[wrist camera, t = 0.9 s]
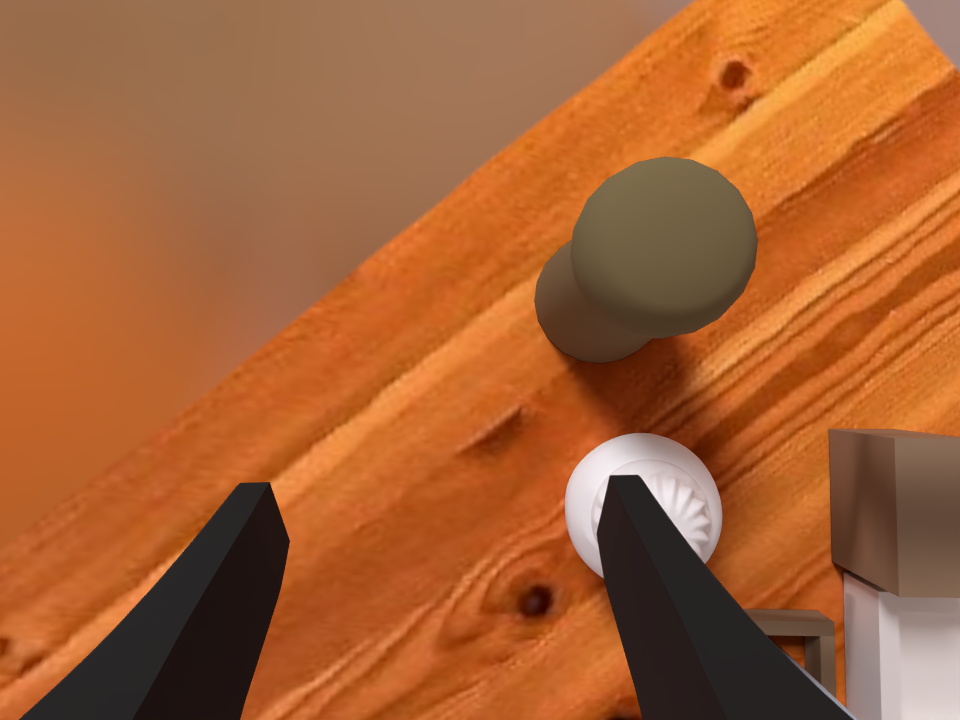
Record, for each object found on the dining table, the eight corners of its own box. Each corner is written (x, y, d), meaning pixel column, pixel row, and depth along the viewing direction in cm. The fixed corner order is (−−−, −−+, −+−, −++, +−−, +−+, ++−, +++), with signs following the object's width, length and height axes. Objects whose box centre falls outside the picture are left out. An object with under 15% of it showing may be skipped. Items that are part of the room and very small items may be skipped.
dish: (1007, 734, 23) (1060, 771, 21) (846, 730, 24) (883, 766, 21) (1001, 575, 24) (1053, 594, 22) (843, 572, 24) (878, 591, 22)
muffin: (532, 524, 24) (547, 580, 18) (587, 404, 25) (623, 412, 18) (655, 581, 24) (720, 662, 17) (709, 460, 24) (796, 491, 17)
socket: (820, 737, 24) (837, 756, 22) (693, 733, 24) (704, 752, 23) (817, 610, 24) (834, 622, 23) (692, 607, 24) (702, 619, 23)
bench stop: (899, 562, 24) (980, 598, 20) (831, 561, 24) (898, 597, 20) (895, 429, 24) (974, 438, 20) (829, 428, 24) (894, 438, 20)
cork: (688, 282, 25) (842, 203, 14) (616, 388, 25) (713, 393, 14) (581, 211, 25) (648, 77, 14) (509, 316, 25) (520, 264, 14)
